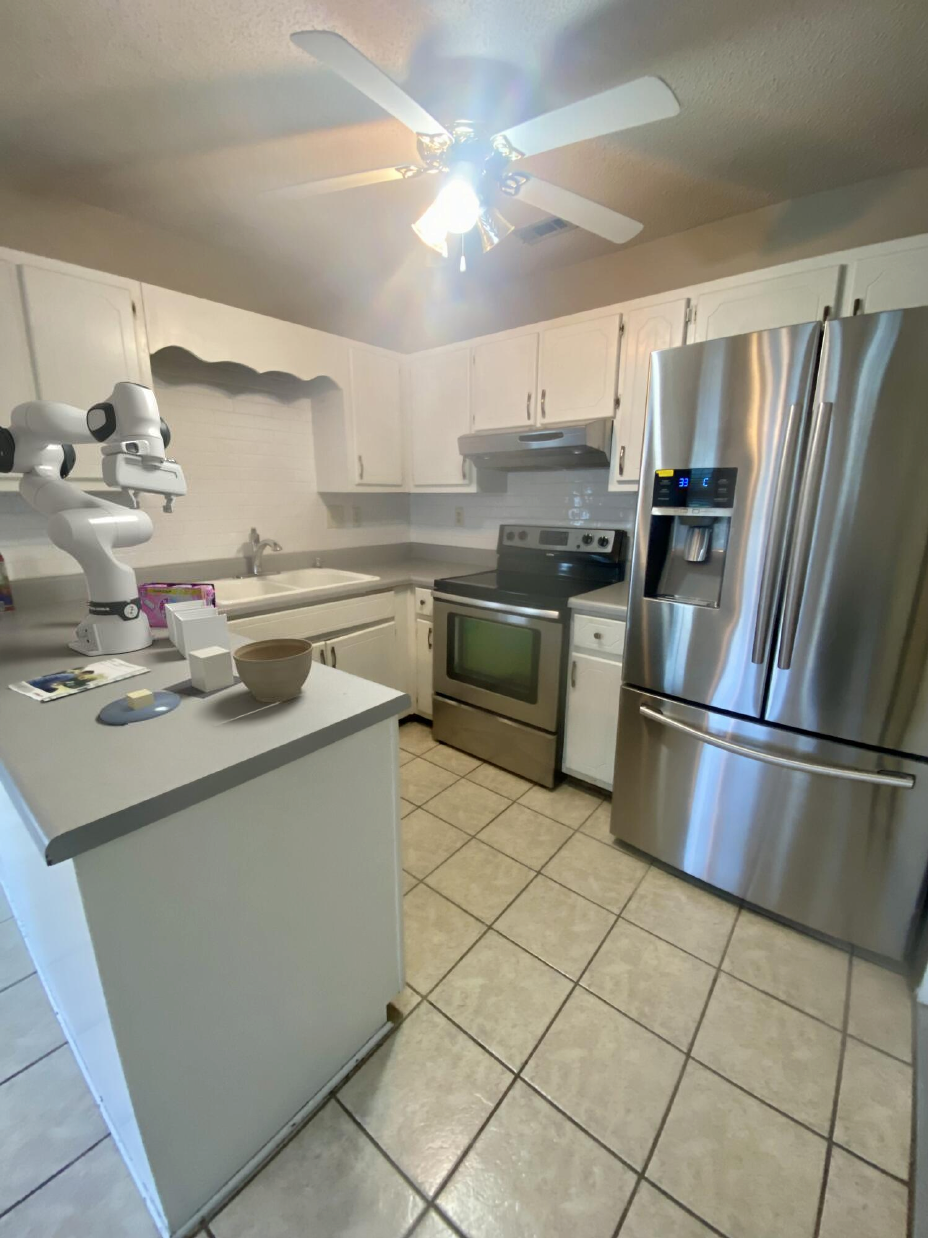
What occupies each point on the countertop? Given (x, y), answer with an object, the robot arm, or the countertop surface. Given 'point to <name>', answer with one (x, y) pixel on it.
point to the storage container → (196, 626)
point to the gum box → (171, 598)
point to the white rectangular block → (211, 668)
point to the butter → (140, 699)
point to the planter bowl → (274, 667)
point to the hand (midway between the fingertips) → (152, 510)
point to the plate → (124, 714)
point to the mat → (188, 689)
